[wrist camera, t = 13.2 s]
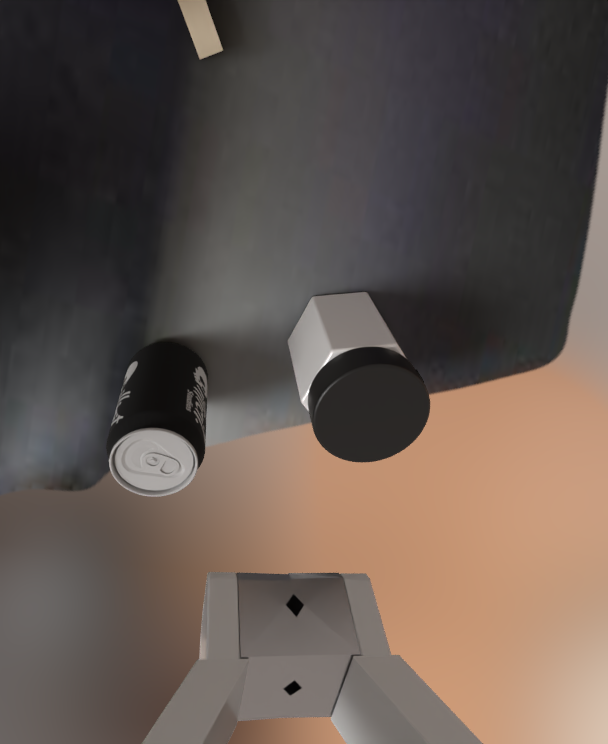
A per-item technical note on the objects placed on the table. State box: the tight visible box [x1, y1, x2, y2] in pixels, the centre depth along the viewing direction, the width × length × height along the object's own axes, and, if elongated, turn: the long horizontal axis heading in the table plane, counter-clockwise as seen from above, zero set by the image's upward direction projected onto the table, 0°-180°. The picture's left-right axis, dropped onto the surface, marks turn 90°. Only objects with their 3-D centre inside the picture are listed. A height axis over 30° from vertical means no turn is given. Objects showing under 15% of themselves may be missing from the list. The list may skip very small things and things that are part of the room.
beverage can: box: [106, 342, 208, 496], centre depth 41 cm, size 7×7×12 cm
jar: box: [288, 292, 430, 462], centre depth 42 cm, size 9×8×12 cm
